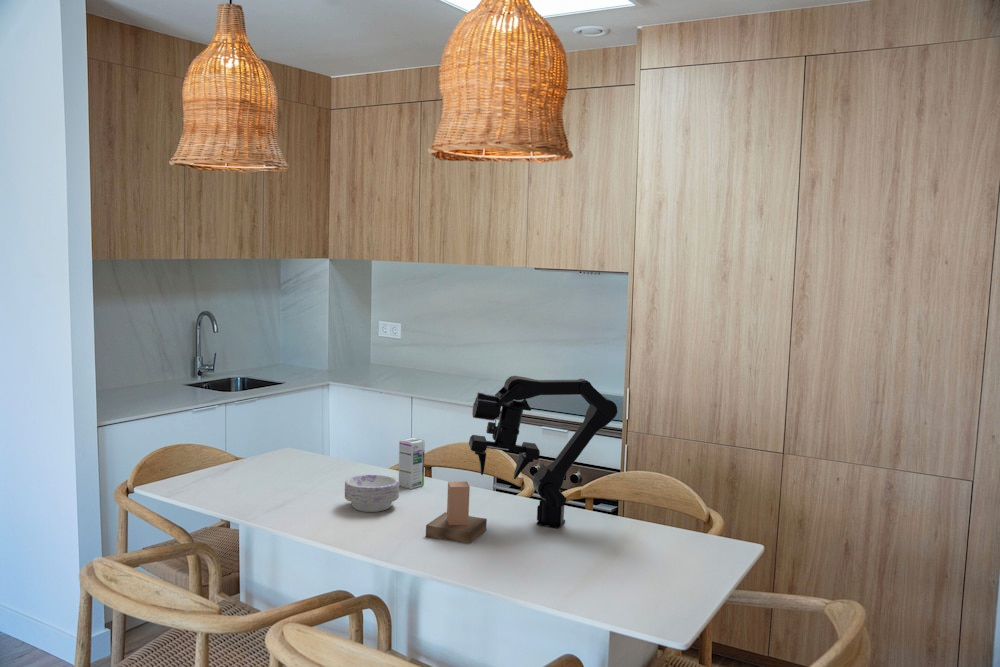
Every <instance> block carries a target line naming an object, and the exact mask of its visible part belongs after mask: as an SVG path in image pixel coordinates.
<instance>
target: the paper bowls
mask: <svg viewBox="0 0 1000 667" xmlns="http://www.w3.org/2000/svg"><path fill="white" fill-rule="evenodd" d="M399 497H400V486H399V478H396V477H394V476H390V475H385V474H361V475H355V476H354V475H353V476H351V477H349V478H347V479H345V482H344V499H345V500H346V501H348V502H350V503H351V505H352V507H353V508H354V509H355V510H357V511H360V512H366V513H377V512H378V513H379V512H383V511H386V510H387V509H389V508H390V507H391V505H392V504H393V503H394V502H395V501H397V500H398V499H399Z"/></svg>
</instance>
